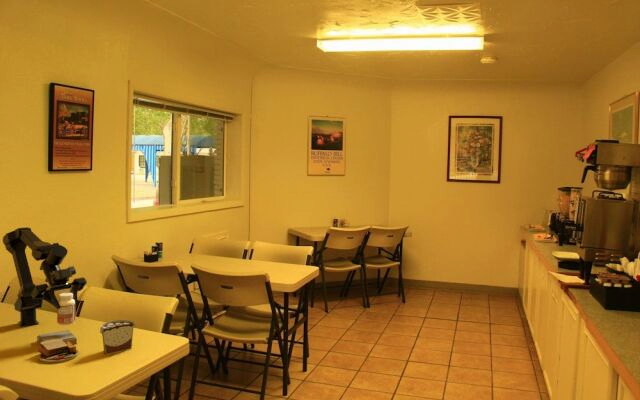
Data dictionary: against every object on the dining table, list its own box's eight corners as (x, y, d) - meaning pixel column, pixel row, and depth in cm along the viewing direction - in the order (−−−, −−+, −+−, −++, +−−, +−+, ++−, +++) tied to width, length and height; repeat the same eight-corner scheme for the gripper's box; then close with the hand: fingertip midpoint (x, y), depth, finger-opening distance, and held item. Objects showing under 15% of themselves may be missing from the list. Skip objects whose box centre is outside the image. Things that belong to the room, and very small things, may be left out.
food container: (127, 343, 195) (127, 317, 195) (135, 347, 191) (135, 321, 190) (94, 351, 187) (94, 323, 186) (101, 356, 182) (101, 327, 182)
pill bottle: (64, 319, 200) (64, 291, 199) (79, 321, 198) (78, 292, 197) (53, 324, 194) (53, 295, 193) (67, 326, 192) (67, 296, 191)
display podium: (37, 341, 195) (36, 334, 195) (69, 335, 202) (68, 329, 202) (43, 350, 186) (43, 343, 186) (76, 343, 193) (76, 337, 193)
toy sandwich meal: (43, 367, 172) (43, 353, 172) (33, 355, 182) (33, 342, 182) (83, 358, 180) (83, 345, 180) (71, 347, 190) (71, 334, 190)
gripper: (34, 263, 189) (50, 299, 183) (84, 256, 204) (99, 289, 198) (24, 281, 194) (39, 316, 189) (73, 273, 209) (88, 306, 204)
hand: (68, 306), depth 195 cm, fingers closed on pill bottle, 6 cm apart
